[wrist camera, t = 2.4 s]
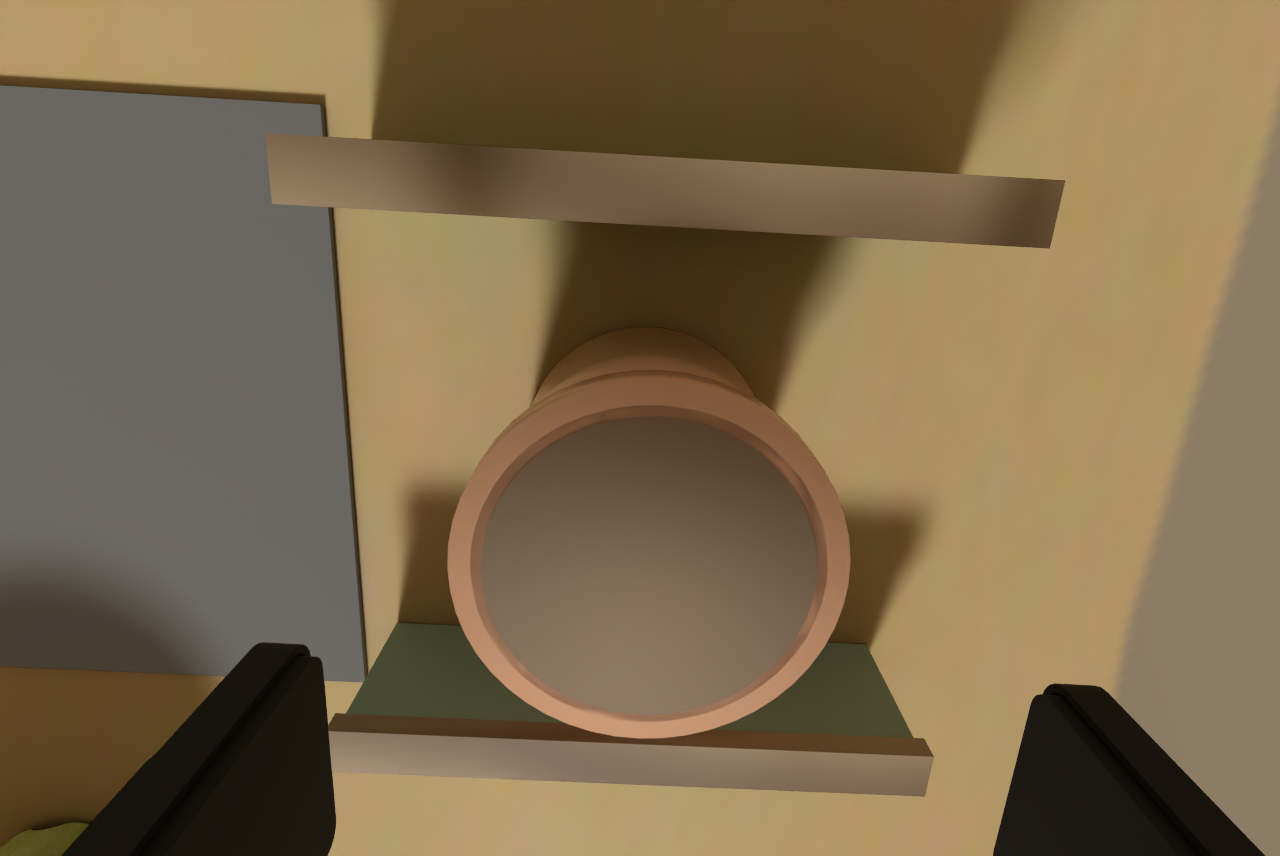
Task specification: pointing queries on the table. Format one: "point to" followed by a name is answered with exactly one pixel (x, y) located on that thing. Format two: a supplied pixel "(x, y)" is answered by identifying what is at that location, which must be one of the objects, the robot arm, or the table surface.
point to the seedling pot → (648, 543)
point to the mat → (168, 391)
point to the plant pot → (43, 841)
